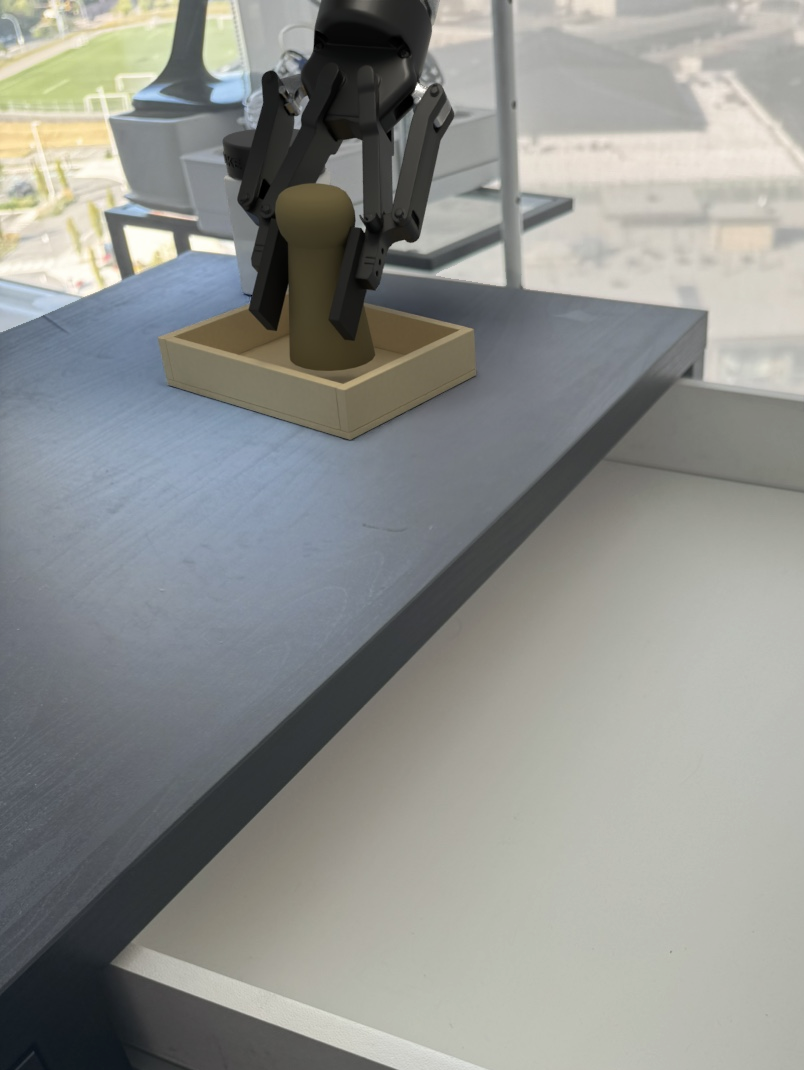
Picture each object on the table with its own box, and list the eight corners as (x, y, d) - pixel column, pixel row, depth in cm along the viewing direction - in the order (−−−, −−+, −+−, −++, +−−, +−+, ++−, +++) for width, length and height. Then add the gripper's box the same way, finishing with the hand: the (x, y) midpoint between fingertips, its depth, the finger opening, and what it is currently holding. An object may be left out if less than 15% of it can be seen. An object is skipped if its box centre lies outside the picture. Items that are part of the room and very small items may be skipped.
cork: (273, 353, 83) (247, 184, 76) (345, 335, 86) (327, 171, 79) (318, 377, 80) (295, 203, 73) (391, 357, 83) (376, 189, 76)
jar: (262, 271, 108) (240, 124, 100) (349, 275, 107) (334, 128, 100) (231, 301, 101) (205, 146, 93) (324, 306, 100) (305, 151, 93)
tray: (167, 385, 86) (157, 337, 84) (302, 330, 96) (296, 285, 94) (350, 440, 79) (344, 389, 77) (476, 375, 89) (474, 328, 87)
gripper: (235, -46, 78) (152, 281, 77) (489, -32, 74) (407, 312, 73) (285, 37, 85) (210, 337, 84) (519, 53, 82) (445, 367, 80)
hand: (302, 324), depth 78 cm, fingers closed on cork, 5 cm apart
